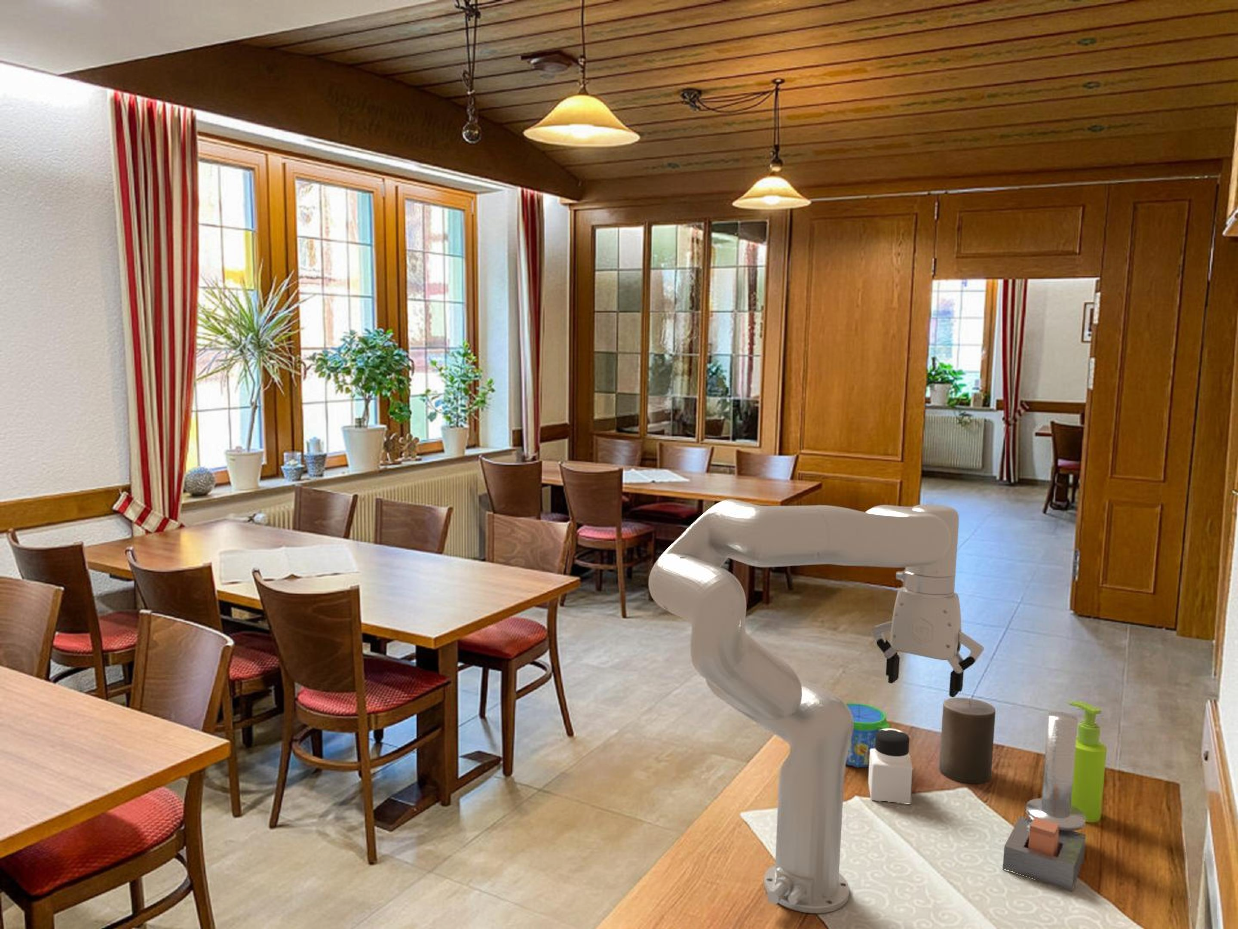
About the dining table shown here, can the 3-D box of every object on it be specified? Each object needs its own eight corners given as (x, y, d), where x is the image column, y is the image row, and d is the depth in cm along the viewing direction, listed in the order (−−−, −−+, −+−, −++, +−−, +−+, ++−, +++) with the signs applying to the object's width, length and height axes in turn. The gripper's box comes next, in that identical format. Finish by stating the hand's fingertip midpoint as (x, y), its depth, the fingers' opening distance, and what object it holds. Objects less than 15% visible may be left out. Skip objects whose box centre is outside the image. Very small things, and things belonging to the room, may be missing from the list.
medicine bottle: (911, 805, 164) (915, 742, 162) (870, 801, 165) (874, 738, 164) (906, 787, 171) (910, 726, 169) (868, 783, 172) (871, 723, 171)
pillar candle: (986, 788, 171) (992, 712, 169) (933, 775, 176) (938, 701, 174) (994, 770, 179) (1000, 697, 177) (944, 757, 184) (949, 686, 183)
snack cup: (905, 768, 179) (908, 719, 178) (872, 782, 173) (875, 731, 171) (842, 741, 191) (844, 694, 190) (809, 753, 185) (811, 706, 184)
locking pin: (1051, 878, 141) (1054, 833, 141) (1026, 870, 144) (1029, 825, 143) (1055, 868, 144) (1059, 823, 144) (1031, 860, 146) (1034, 816, 146)
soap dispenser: (1075, 801, 167) (1084, 697, 164) (1108, 819, 160) (1117, 711, 158) (1051, 806, 164) (1059, 701, 162) (1083, 824, 158) (1092, 715, 156)
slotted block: (1071, 891, 138) (1083, 754, 135) (1002, 869, 144) (1012, 737, 141) (1090, 840, 153) (1100, 715, 150) (1026, 822, 159) (1035, 702, 156)
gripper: (867, 579, 144) (862, 682, 146) (980, 597, 134) (973, 707, 136) (883, 570, 150) (878, 670, 152) (992, 587, 141) (985, 693, 142)
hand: (923, 687), depth 144 cm, fingers open, 9 cm apart
